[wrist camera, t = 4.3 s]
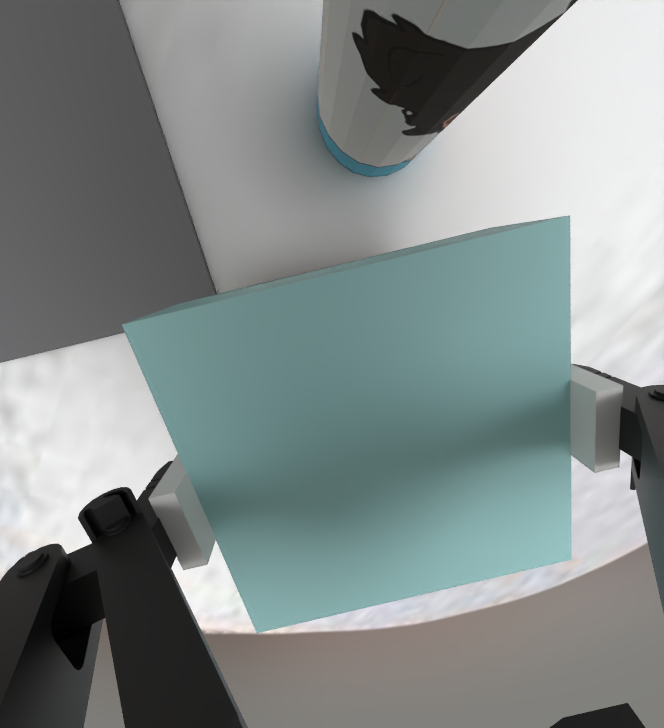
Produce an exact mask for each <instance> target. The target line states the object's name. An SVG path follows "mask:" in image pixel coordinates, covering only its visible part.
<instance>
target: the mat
mask: <svg viewBox="0 0 664 728" xmlns="http://www.w3.org/2000/svg"><path fill="white" fill-rule="evenodd" d="M213 295H217V294H216V291H215V288H214V285H213V282H212V279H211V276H210V273H209V270H208V267H207V264H206V261H205V258H204V255H203V252H202V249H201V246H200V243H199V240H198V237H197V234H196V231H195V228H194V225H193V222H192V219H191V216H190V213H189V210H188V207H187V204H186V201H185V198H184V195H183V192H182V189H181V186H180V183H179V180H178V177H177V174H176V171H175V168H174V165H173V162H172V159H171V156H170V153H169V150H168V147H167V144H166V141H165V138H164V135H163V132H162V129H161V126H160V123H159V120H158V117H157V114H156V111H155V108H154V105H153V102H152V99H151V96H150V93H149V90H148V87H147V84H146V81H145V78H144V75H143V72H142V69H141V66H140V63H139V60H138V57H137V54H136V51H135V48H134V45H133V42H132V39H131V36H130V33H129V30H128V27H127V24H126V21H125V18H124V15H123V12H122V9H121V6H120V3H119V0H0V363H1V362H5V361H9V360H13V359H17V358H21V357H26V356H30V355H34V354H38V353H42V352H46V351H50V350H54V349H58V348H63V347H67V346H71V345H75V344H79V343H83V342H87V341H91V340H95V339H99V338H104V337H108V336H112V335H116V334H120V333H124V332H125V331H124V329H123V326H122V324H125V323H128V322H130V321H133V320H136V319H139V318H141V317H144V316H147V315H149V314H152V313H155V312H158V311H160V310H163V309H166V308H168V307H171V306H174V305H177V304H180V303H184V302H188V301H192V300H196V299H201V298H205V297H209V296H213Z"/></svg>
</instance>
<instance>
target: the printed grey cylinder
mask: <svg viewBox="0 0 664 728" xmlns="http://www.w3.org/2000/svg"><path fill="white" fill-rule="evenodd" d="M576 1H577V0H323V16H322V33H321V49H320V66H319V83H318V99H317V110H318V120H319V128H320V131H321V133H322V136H323V139H324V141H325V144H326V146H327V148H328V149H329V150H330V152H331V153H332V154H333V156H334V157H335V158H336V160H337V161H338V162H339V163H340V164H342V165H343V166H345V167H346V168H348V169H349V170H351V171H352V172H354V173H358V174H361V175H365V176H369V177H374V176H384V175H389V174H391V173H393V172H395V171H398V170H400V169H402V168H404V167H405V166H406V165H407V164H408V163H409V162H410V161H411V160H412V159H413V158H414V157H415V156H416V155H417V154H418V153H420V152H421V151H422V150H423V149H424V148H425V147H426V146H427V145H428V144H429V143H430V142H431V141H432V140H433V139H434V138H435V137H436V136H437V135H438V134H439V133H440V132H441V131H442V130H443V129H444V128H445V127H447V126H448V125H449V124H450V123H451V122H452V121H453V120H454V119H455V118H456V117H457V116H458V115H459V114H460V113H461V112H462V111H463V110H464V109H465V108H466V107H467V106H468V105H469V104H470V103H471V102H472V101H474V100H475V99H476V98H477V97H478V96H479V95H480V94H481V93H482V92H483V91H484V90H485V89H486V88H487V87H488V86H489V85H490V84H491V83H492V82H493V81H494V80H495V79H496V78H497V77H498V76H499V75H501V74H502V73H503V72H504V71H505V70H506V69H507V68H508V67H509V66H510V65H511V64H512V63H513V62H514V61H515V60H516V59H517V58H518V57H519V56H520V55H521V54H522V53H523V52H524V51H525V50H526V49H528V48H529V47H530V46H531V45H532V44H533V43H534V42H535V41H536V40H537V39H538V38H539V37H540V36H541V35H542V34H543V33H544V32H545V31H546V30H547V29H548V28H549V27H550V26H551V25H552V24H553V23H554V22H556V21H557V20H558V19H559V18H560V17H561V16H562V15H563V14H564V13H565V12H566V11H567V10H568V9H569V8H570V7H571V6H572V5H573V4H574V3H575V2H576Z"/></svg>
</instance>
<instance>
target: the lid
mask: <svg viewBox="0 0 664 728" xmlns="http://www.w3.org/2000/svg"><path fill="white" fill-rule="evenodd" d="M122 326H123V329H124V331H125V333H126V335H127V338H128V340H129V342H130V345H131V347H132V349H133V351H134V354H135V356H136V358H137V361H138V363H139V365H140V367H141V370H142V372H143V374H144V377H145V379H146V381H147V383H148V386H149V388H150V390H151V393H152V395H153V397H154V399H155V402H156V404H157V406H158V408H159V411H160V413H161V415H162V418H163V420H164V422H165V424H166V427H167V429H168V431H169V434H170V436H171V438H172V440H173V443H174V445H175V447H176V450H177V452H178V454H179V456H180V459H181V461H182V463H183V466H184V468H185V470H186V471H187V473H188V476H189V478H190V480H191V482H192V485H193V487H194V489H195V492H196V494H197V496H198V498H199V501H200V503H201V505H202V508H203V510H204V512H205V514H206V517H207V519H208V521H209V524H210V526H211V528H212V530H213V533H214V535H215V537H216V541H217V543H218V546H219V548H220V550H221V552H222V555H223V557H224V559H225V562H226V564H227V566H228V568H229V571H230V573H231V575H232V577H233V580H234V582H235V584H236V587H237V589H238V591H239V593H240V596H241V598H242V600H243V603H244V605H245V607H246V609H247V612H248V614H249V616H250V619H251V621H252V623H253V625H254V628H255V630H256V632H257V633H260V632H264V631H268V630H272V629H277V628H281V627H285V626H290V625H294V624H298V623H302V622H307V621H311V620H315V619H319V618H324V617H328V616H332V615H337V614H341V613H345V612H349V611H354V610H358V609H362V608H366V607H371V606H375V605H379V604H384V603H388V602H392V601H396V600H401V599H405V598H409V597H413V596H418V595H422V594H426V593H431V592H435V591H439V590H443V589H448V588H452V587H456V586H460V585H465V584H469V583H473V582H478V581H482V580H486V579H490V578H495V577H499V576H503V575H507V574H512V573H516V572H520V571H525V570H529V569H533V568H537V567H542V566H546V565H550V564H554V563H559V562H563V561H567V560H571V454H570V379H571V334H570V216H564V217H558V218H551V219H545V220H538V221H532V222H525V223H519V224H512V225H506V226H499V227H493V228H488V229H484V230H480V231H476V232H472V233H467V234H463V235H459V236H455V237H451V238H447V239H443V240H439V241H435V242H430V243H426V244H422V245H418V246H414V247H410V248H406V249H402V250H398V251H393V252H389V253H385V254H381V255H377V256H373V257H369V258H365V259H361V260H357V261H352V262H348V263H344V264H340V265H336V266H332V267H328V268H324V269H320V270H315V271H311V272H307V273H303V274H299V275H295V276H291V277H287V278H283V279H279V280H274V281H270V282H266V283H262V284H258V285H254V286H250V287H246V288H242V289H237V290H233V291H229V292H225V293H221V294H217V295H213V296H209V297H205V298H201V299H196V300H192V301H188V302H184V303H180V304H177V305H174V306H171V307H168V308H166V309H163V310H160V311H158V312H155V313H152V314H149V315H147V316H144V317H141V318H139V319H136V320H133V321H130V322H128V323H125V324H122Z"/></svg>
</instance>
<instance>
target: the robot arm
mask: <svg viewBox="0 0 664 728" xmlns="http://www.w3.org/2000/svg"><path fill="white" fill-rule="evenodd" d="M620 450H622V451H624V452H625V453H627V454H629V455H630V456H632V467H631V483H630V489H631V490H635V489H636V491H637V496H638V500H639V505H640V509H641V514H642V518H643V523H644V527H645V532H646V536H647V541H648V545H649V549H650V554H651V558H652V563H653V567H654V572H655V576H656V580H657V585H658V589H659V594H660V598H661V603H662V607H663V612H664V385H651V386H646V387H642V388H641V387H638V386H636V385H633V384H631V383H628V382H626V381H623V380H621V379H618V378H616V377H611V375H608V374H606V373H601V372H600V371H598V370H595V369H593V368H590V367H587V366H581V365H576V364H571V379H570V454H571V455H572V456H573V457H575V458H576V459H577V460H578V461H580V462H581V463H582V464H584V465H585V466H586V467H588V468H589V469H590V470H592V471H593V472H594V473H596V472H600V471H605V470H609V469H613V468H617V467H619V463H620ZM78 519H79V521H80V523H81V524H82V526H83V528H84V529H85V531H86V533H87V535H88V536H89V538H90V540H91V541H92V544H90V545H87V546H85V547H83V548H81V549H78V550H76V551H74V552H72V553H69V554H66V552H65V551H64V549H63V547H62V546H61V545H59V544H50V545H47V546H44V547H41V548H39V549H37V550H35V551H32V552H30V553H28V554H27V555H25V557H22V558H21V559H20V560H18V561H17V563H16V564H15V565H14V566H12V567H11V568H10V569H9V570H8V571H7V573H6V574H5V575H4V576H3V578H2V579H1V581H0V728H83V727H84V722H85V716H86V710H87V705H88V699H89V694H90V688H91V683H92V677H93V671H94V666H95V660H96V654H97V650H98V643H99V638H100V633H101V627H102V621H103V619H104V618H106V623H107V629H108V635H109V640H110V645H111V651H112V657H113V662H114V668H115V674H116V679H117V685H118V690H119V696H120V701H121V707H122V713H123V718H124V724H125V728H248V727H247V725H246V723H245V721H244V719H243V717H242V715H241V713H240V710H239V708H238V706H237V704H236V702H235V700H234V698H233V696H232V694H231V692H230V690H229V688H228V685H227V684H226V681H225V680H224V677H223V675H222V673H221V671H220V669H219V667H218V665H217V663H216V660H215V658H214V656H213V654H212V652H211V650H210V648H209V646H208V644H207V642H206V640H205V638H204V636H203V633H202V631H201V629H200V627H199V625H198V623H197V621H196V619H195V617H194V615H193V613H192V610H191V608H190V606H189V604H188V602H187V600H186V598H185V596H184V594H183V592H182V590H181V588H180V585H179V583H178V581H177V579H176V577H175V575H174V573H173V571H172V569H171V567H172V565H173V562H174V560H175V558H176V556H177V558H178V560H179V562H180V564H181V566H182V568H183V570H186V569H190V568H195V567H199V566H203V565H207V564H208V561H209V558H210V555H211V552H212V549H213V546H214V543H215V540H216V537H215V535H214V533H213V530H212V528H211V526H210V524H209V521H208V519H207V517H206V514H205V512H204V510H203V508H202V505H201V503H200V501H199V498H198V496H197V494H196V492H195V489H194V487H193V485H192V482H191V480H190V478H189V476H188V473H187V471H186V470H185V468H184V466H183V463H182V461H181V459H180V456H179V454H178V455H177V456H176V458H175V459H174V461H169V462H168V463H166V464H165V465H164V466H163V467H162V468H161V469H159V470H158V471H157V473H156V474H155V475H154V477H153V478H152V480H151V482H150V483H149V484H148V485H147V487H146V490H144V491H143V492H142V494H141V495H140V497H139V498H138V500H137V501H136V499H135V497H134V495H133V493H132V491H131V489H129V488H128V487H121V488H117V489H113V490H111V491H108V492H106V493H104V494H102V495H100V496H99V497H97V498H95V499H94V500H92V501H91V502H90V503H89V504H87V505H86V506H85V507H84V508H83V509H82V511H81V512H80V513H79V516H78ZM550 728H645V727H644V725H643V724H642V722H641V721H640V720H639V718H638V717H637V715H636V714H635V713H634V711H633V710H632V708H631V707H630V706H629V704H628V703H625V704H621V705H617V706H612V707H608V708H603V709H599V710H595V711H591V712H586V713H582V714H577V715H574V716H569V717H565V718H562V719H561V720H560V721H558V722H557V723H556V724H554V725H553V726H551V727H550Z"/></svg>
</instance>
